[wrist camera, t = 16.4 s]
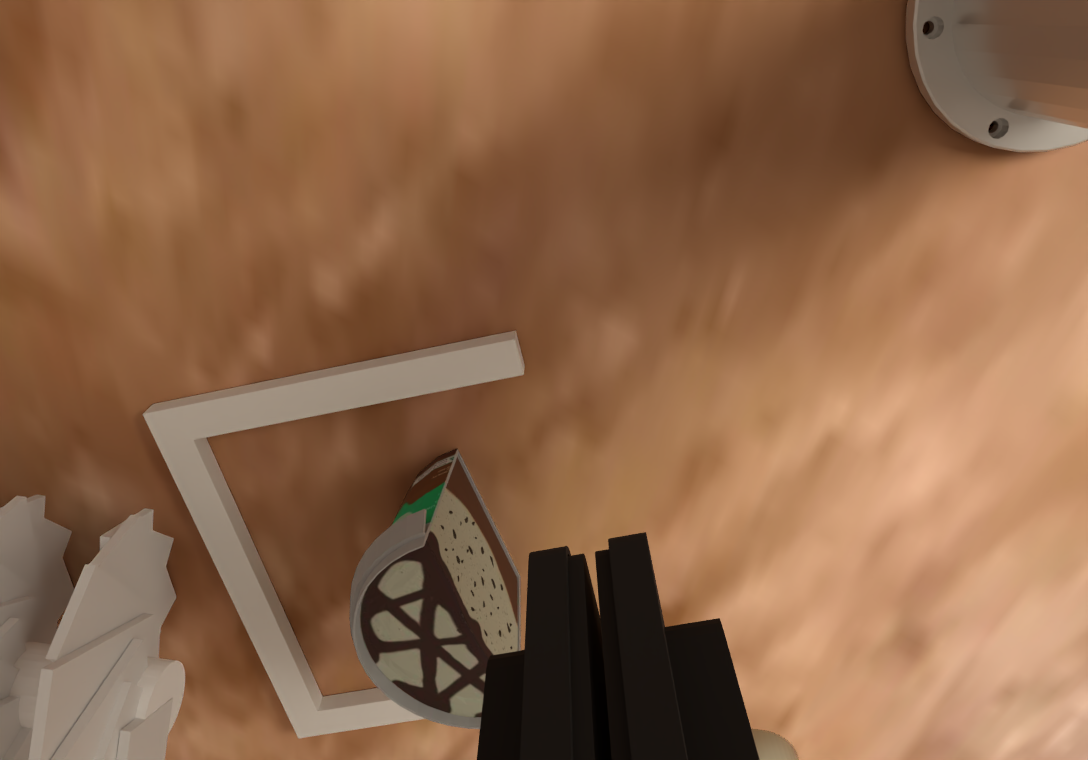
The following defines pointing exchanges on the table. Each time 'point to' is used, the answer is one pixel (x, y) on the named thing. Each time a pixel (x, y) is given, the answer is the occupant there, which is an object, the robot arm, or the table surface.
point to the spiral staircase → (84, 642)
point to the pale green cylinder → (773, 746)
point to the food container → (436, 599)
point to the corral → (222, 524)
